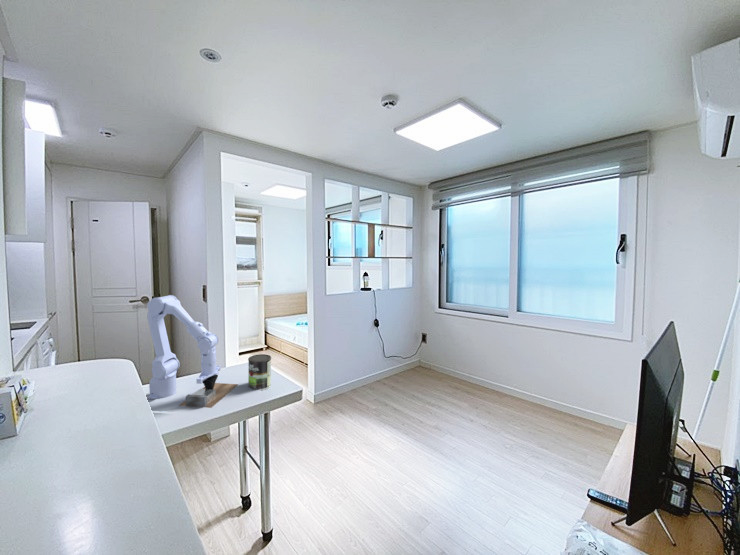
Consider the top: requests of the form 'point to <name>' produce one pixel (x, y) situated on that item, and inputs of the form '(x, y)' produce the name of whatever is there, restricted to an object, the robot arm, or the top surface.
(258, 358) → the coffee can
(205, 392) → the block
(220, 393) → the slide rail board
